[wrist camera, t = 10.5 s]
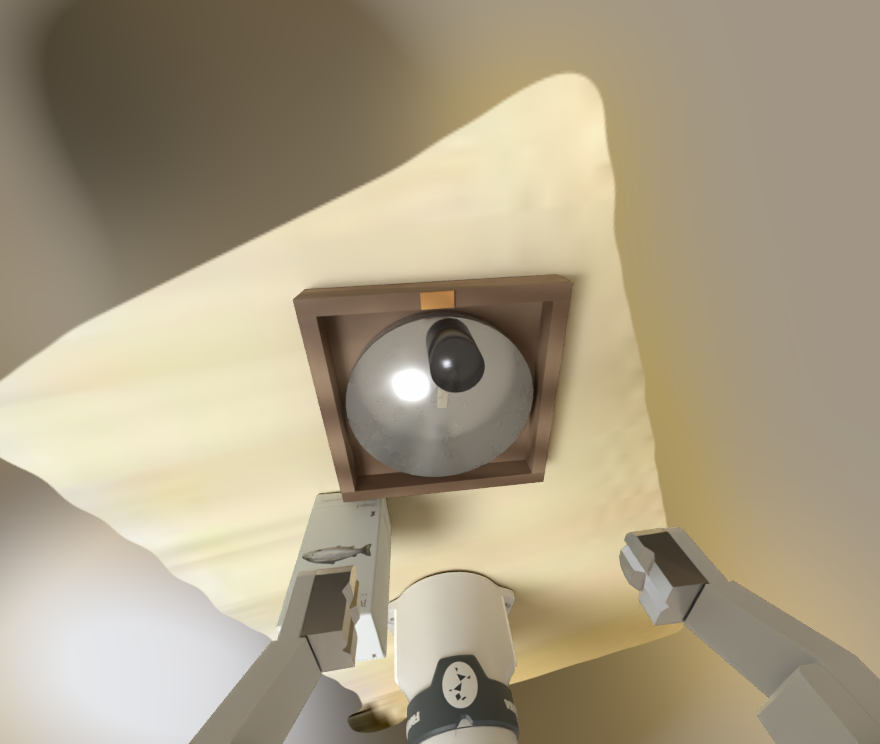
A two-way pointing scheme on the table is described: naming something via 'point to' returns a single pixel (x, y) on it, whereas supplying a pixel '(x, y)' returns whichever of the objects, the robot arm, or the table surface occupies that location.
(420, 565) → the table surface
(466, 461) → the dial
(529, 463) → the dial housing
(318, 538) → the supplement box
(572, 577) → the table surface
